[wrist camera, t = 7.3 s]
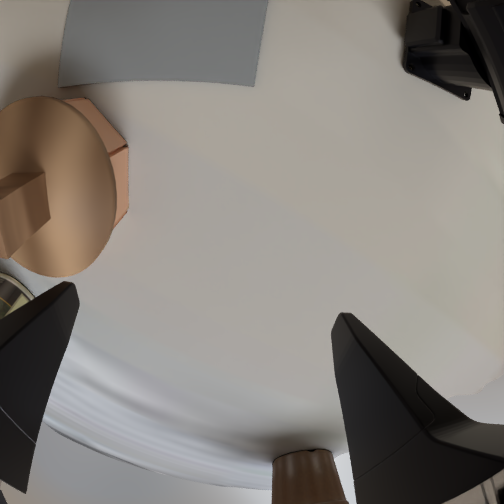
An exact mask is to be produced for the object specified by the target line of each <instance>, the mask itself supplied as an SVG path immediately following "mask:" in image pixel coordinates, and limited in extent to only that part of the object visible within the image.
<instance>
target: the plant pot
mask: <svg viewBox="0 0 504 504" xmlns="http://www.w3.org/2000/svg"><path fill="white" fill-rule="evenodd" d="M272 465H273V475H272V504H349V502H348V501H346V498H345V495H344V491H343V488H342V485H341V482H340V479H339V475H338V472H337V469H336V465H335V462H334V458H333V455H332V453H331V452H330V451H327V450H318V449H317V450H315V451H314V452H309V451H307V450H305V451H299V452H293V453H289V454H286V455H283V456H281V457H279V458H277V459H275V461H274V463H273V464H272Z"/></svg>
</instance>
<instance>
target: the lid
mask: <svg viewBox="0 0 504 504" xmlns="http://www.w3.org/2000/svg"><path fill="white" fill-rule="evenodd" d="M116 210H117V190H116V180H115V175H114V170H113V166H112V163H111V160H110V157H109V154H108V152H107V149H106V147H105V145H104V142H103V141H102V139H101V137H100V136H99V134H98V132H97V130H96V129H95V128H94V126H93V125H92V124H91V123H90V121H89V120H88V119H87V118H86V117H85V116H84V115H83V114H82V113H81V112H80V111H79V110H77V109H76V108H75V107H73V106H72V105H70V104H68V103H66V102H64V101H62V100H60V99H57V98H53V97H46V96H37V97H30V98H25V99H21V100H18V101H16V102H14V103H12V104H10V105H8V106H7V107H5V108H4V109H3V110H1V111H0V258H5V259H9V258H10V257H11V258H12V259H13V260H15V261H16V262H17V263H19V264H20V265H21V266H23V267H25V268H26V269H28V270H30V271H32V272H35V273H37V274H40V275H44V276H48V277H67V276H72V275H74V274H77V273H79V272H81V271H83V270H84V269H86V268H87V267H88V266H90V265H91V264H92V263H93V262H94V261H95V259H96V258H97V257H98V256H99V254H100V253H101V252H102V250H103V249H104V247H105V245H106V244H107V242H108V240H109V238H110V235H111V233H112V230H113V226H114V222H115V218H116Z"/></svg>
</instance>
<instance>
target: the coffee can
mask: <svg viewBox="0 0 504 504" xmlns="http://www.w3.org/2000/svg"><path fill="white" fill-rule="evenodd" d="M32 299H34V296H33V295H32V294H31V293H30V292H29V291H28V290H27V289H26V288H25V287H24V286H23V285H22V284H21V283H20V282H18V281H17V280H15V279H14V278H12V277H10V276H9V275H6V274H3V273H0V319H1V318H3V317H5V316H6V315H8V314H9V313H11V312H13V311H14V310H16V309H17V308H19V307H21V306H22V305H24V304H26V303H27V302H29V301H31V300H32Z"/></svg>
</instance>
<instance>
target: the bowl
mask: <svg viewBox="0 0 504 504" xmlns="http://www.w3.org/2000/svg"><path fill="white" fill-rule="evenodd" d="M62 101H64V102H66V103H68V104H70V105H72V106H73V107H75V108H76V109H77V110H79V111H80V112H81V113H82V114H83V115H84V116H85V117H86V118H87V119H88V120H89V121H90V123H91V124H92V125H93V126H94V128H95V129H96V130H97V132H98V134H99V136H100V137H101V139H102V141H103V142H104V145H105V147H106V149H107V152H108V154H109V157H110V160H111V163H112V166H113V170H114V175H115V180H116V190H117V210H116V218H115V222H114V226H113V229H114V227H115V226H116V225H117V224H118V222H119V221H120V220H121V219H122V218H123V216H124V215H125V214H126V213H127V209H128V208H129V198H128V147H123V146H124V145H125V144H126V143H127V142H126V141H125V140H124V139H123V138H122V137H121V135H120V134H119V133H118V132H117V131H116V130H115V129H114V128H113V126H112V125H111V124H110V123H109V122H108V121H107V120H106V118H105V117H104V116H103V115H102V114H101V113H100V112H99V110H98V109H97V108H96V107H95V106H94V105H93V104H92V102H91V101H90V100H89V99H85V98H74V99H65V100H62Z"/></svg>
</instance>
